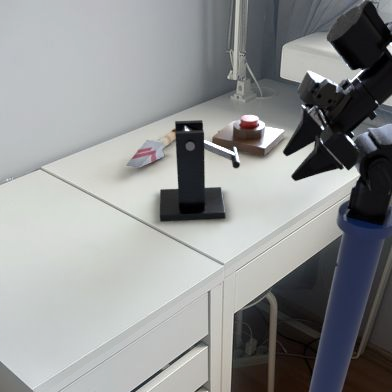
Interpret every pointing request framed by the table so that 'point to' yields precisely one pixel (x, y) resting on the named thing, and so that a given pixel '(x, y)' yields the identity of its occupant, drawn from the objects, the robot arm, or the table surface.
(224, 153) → the lever
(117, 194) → the table surface
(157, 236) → the table surface
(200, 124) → the bracket
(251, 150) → the button block
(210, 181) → the table surface
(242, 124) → the button
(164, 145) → the garden trowel
